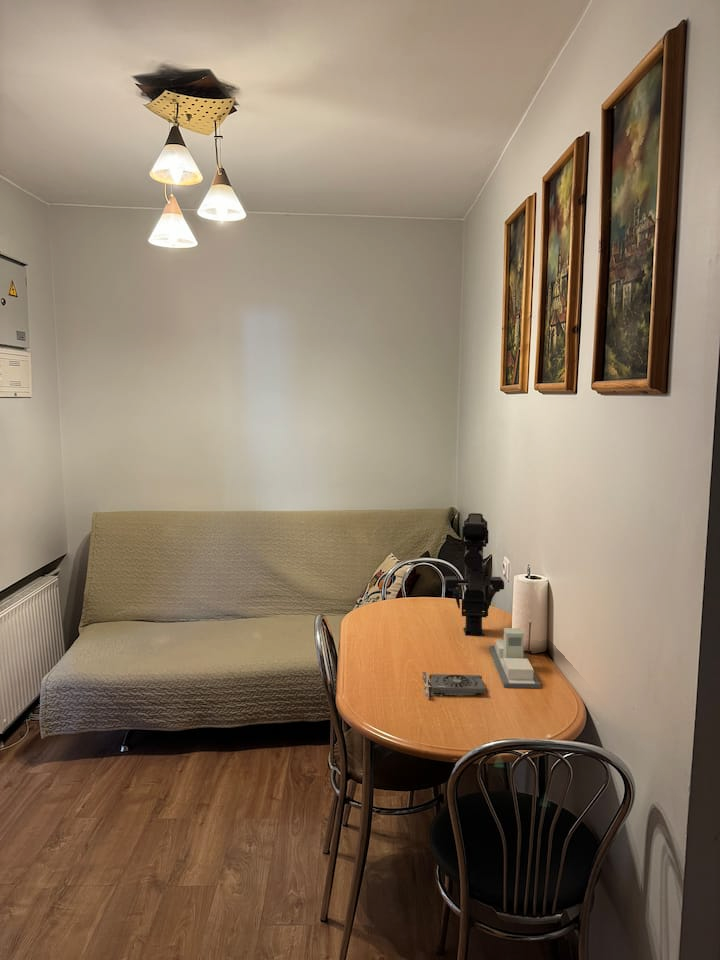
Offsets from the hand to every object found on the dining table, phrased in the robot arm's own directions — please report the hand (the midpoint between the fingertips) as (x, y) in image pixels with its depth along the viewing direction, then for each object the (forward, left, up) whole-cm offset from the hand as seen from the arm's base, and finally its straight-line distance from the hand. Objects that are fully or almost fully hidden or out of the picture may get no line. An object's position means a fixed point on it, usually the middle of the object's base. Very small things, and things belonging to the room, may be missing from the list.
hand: (473, 608), depth 203 cm
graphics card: (+33, -9, -14) cm, 37 cm away
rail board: (+16, +10, -13) cm, 23 cm away
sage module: (+16, +10, -12) cm, 22 cm away
